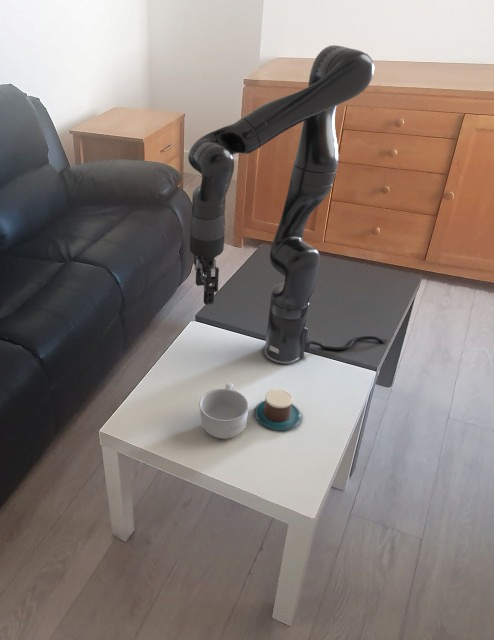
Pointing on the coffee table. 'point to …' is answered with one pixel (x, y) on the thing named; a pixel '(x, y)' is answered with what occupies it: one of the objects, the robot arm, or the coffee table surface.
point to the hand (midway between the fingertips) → (204, 293)
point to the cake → (277, 405)
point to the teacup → (223, 412)
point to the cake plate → (278, 426)
